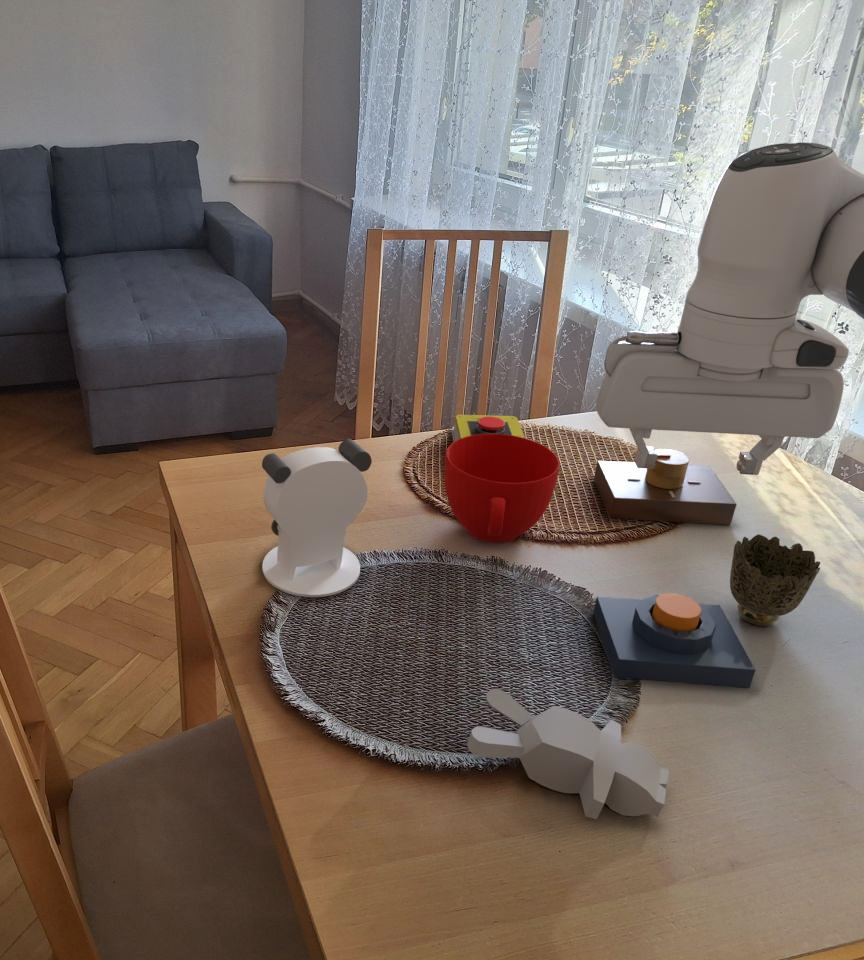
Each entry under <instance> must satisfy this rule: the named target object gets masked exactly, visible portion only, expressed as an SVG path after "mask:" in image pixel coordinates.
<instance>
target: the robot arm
mask: <svg viewBox="0 0 864 960" xmlns="http://www.w3.org/2000/svg"><path fill="white" fill-rule="evenodd" d="M715 187H716V188H715V190H714V192H713V194H712V197H711V201H710V204H709V207H708V210H707V213H706V216H705V220H704V224H703V227H702V230H701V234H700V238H699V242H698V246H697V271H696V275H695V277H694V280H693V281H692V283H691V284H690V286H689V288H688V290H687V292H686V295H685V299H684V305H683V307H682V312H681V316H680V320H679V324H678V328H677V332H673V331H672V332H671V331H669V332H668V331H667V332H665V331H658V332H644V331H638V330H635V331H634V330H633V331H632V330H631V331H627V333H626V334H625V335H621V336H618V337H616V338H615V339H614V340H612V341H611V342H610V343H609V344H608V347H607V348H606V353H605V358H604V363H603V367H604V370H605V373H604V376H603V378H602V381H601V384H600V387H599V391H598V393H597V398H596V401H595V409H596V412H597V415H598V416H599V419H600V420H601V421H602V422H603V424H605V426H607V427H608V428H614V429H629V432H630V433H631V436H632V438H633V440H634V443H635V445H636V448H637V449H636V452H635V457H634V462H635V464H636V466H637V468H646V469H654V468H655V463H654V462H655V461H657V456H658V454H657V452H656V451H655V450H656V449H655V447H654V446H648V445H646V442H645V440H644V439H647V440H648V439H650V438H651V435H652V431H653V430H654V431H674V432H691V433H709V434H726V435H727V434H728V435H729V434H730V435H749V436H759V438H760V439H759V441H757V443H756V444H755V445H754V446H753V447H752V448H751V449H750V450H749V451H739V454H738V460H737V461H736V470H737V471H738V472H739V474H740V475H750V476H758V475H759V474H760V471H761V468H762V465H763V462H764V461H766V460H767V459H768V458H769V457H770V456H772V455H773V454H775V452H776V451H777V450H778V449H780V448H781V447H782V444H783V441H784V438H802V439H803V438H804V439H820V438H821V437H823V436H825V435H826V434H827V433H828V432H830V431H831V430H832V429H833V427H834V426H835V423H836V420H837V416H838V415H839V414H838V413H839V410H840V407H841V403H842V397H843V394H844V393H843V392H844V387H845V384H844V377H843V374H842V373H841V371H840V370H839V369H840V368H842V367H843V366H844V365H845V363H846V361H847V360H848V357H849V353H850V350H849V348H848V347H847V345H846V344H844V342H842V341H841V340H840V339H839V338H838V337H836V335H834V334H832V332H830V331H828V330H827V329H825V328H823V327H822V326H820V325H818V324H817V323H814V322H811V321H808V320H805V319H802V318H799V317H797V315H798V311H799V308H800V305H801V302H802V301H803V300H804V298H806V297H808V296H812V295H813V296H822V295H823V296H824V297H825V298H826V299H829V300H831V301H833V302H835V303H837V304H839V305H840V306H842V307H844V308H846V309H848V310H850V311H851V312H853V313H855V314H856V315H857V316H859V317H860V318H861V319H862V320H864V173H863V172H862V173H861V172H859V171H858V170H856V169H854V168H853V167H852V166H850V165H848V164H847V163H845V162H844V161H843V160H842V159H840V158H839V156H838V155H837V154H836V152H835V149H833V148H832V147H830V146H828V145H825V144H821V143H817V142H815V143H814V142H800V141H799V142H791V143H789V142H783V143H782V142H781V143H774V144H769V145H768V144H767V145H764V146H760V147H755V148H753V149H750V150H747V151H746V152H744V153H742V154H740V155H738V156H737V157H735V158H733V160H732V161H731V162H730V163H729V164H728V165H727V166H726V168H725V169H724V171H723V173H722V175H721V177H720V178H719V181H718V182H717V185H716V186H715Z"/></svg>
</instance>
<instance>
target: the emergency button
mask: <svg viewBox="0 0 864 960" xmlns="http://www.w3.org/2000/svg"><path fill="white" fill-rule="evenodd" d="M478 434H505V435H513V436H517V437H522V438H526V437H525V434H524V431H523V429H522V426H521V424H520V421H519V419H518V417H517V416H515V415H492V414H489V415H488V414H457V415H455V420H454V425H453V426H452V428H451V436H452V440H453V442H455V441H456V440H458V439H461V438H463V437H467V436H471V435H478Z"/></svg>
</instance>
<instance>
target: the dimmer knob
mask: <svg viewBox="0 0 864 960" xmlns="http://www.w3.org/2000/svg"><path fill="white" fill-rule="evenodd" d="M655 451H656V452H657V454H658V456H657V461H655V462H654V463H655V468H654V469H647V471H646V475H645V479H646V481H647V482H648V483H649V484H651V485H653V486H656V487H659V488H663V489H677V488H680V487H681V486H682V485H683V483H684V479H685V475H686V471H687V467H688V465H689V463H690V458H689V456H688V455H686V454H685V453H683V452H681V451H679V450H675V449H670V448H657V449H655Z"/></svg>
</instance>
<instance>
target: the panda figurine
mask: <svg viewBox="0 0 864 960" xmlns="http://www.w3.org/2000/svg"><path fill="white" fill-rule="evenodd" d="M372 461H373V460H372V456H371V455H370V453H369V452H367V451H366V450H365V449H364V448H363V447H362V446H361V445H359V443H357V442H356V441H355V440H353V439H351V438H345V439H343V440H342V441H341V442H340V444H338V449H335V448H333V447H327V446H315V447H313V446H312V447H308V448H303V449H299V450H296V451H293V452H291V453H288V454H286V455H284V456H283V457H280V456H279V455H278V454H276V453H268V454H266V455H265V456H263V458H262V461H261V468H262V469H263V470H264V471H265V472H266V474H267V475H268V476H267V477H266V480H265V483H264V488H263V502H264V506H265V509H266V510H267V512H268V514H269V515H270V516H271V517H272V519H273V521H272V522H271V528H270V529H271V531H272V533H273V534H274V535H275V536H277V545H276V546H275V547H273V548H272V549H271V550H270V551H269V552H267V553H266V555H265V556H264V558H263V560H262V565H261V567H262V568H261V569H262V574H263V576H264V578H265V580H266V581H267V582H268V583H269V584H270V585H272V587H274V588H275V589H276V590H277V589H278V590H279V591H281V592H283V593H285V594H288V595H293V596H297V597H303V598H325V597H330V596H334V595H337V594H340V593H343V592H344V591H346V590H348V589H350V588H351V587H352V586H353V585H355V584H356V583H357V582H358V579H359V578H360V575H361V564H360V561H359V559H358V557H357V556H356V555H355V554H354V552H352V551H351V550H349V548H347V547H345V546H344V545H345V540H346V539H345V538H346V532H347V528H348V527H349V526H350V525H351V524H352V523H353V522H354V521H355V520H356V519H357V518H358V516H359V515H360V514H361V512H362V511H363V509H364V507H365V505H366V502H367V499H368V485H367V481H366V480H365V477H364V475H363V473H364V472H366V471H368V470H369V469H370V467H371V466H372Z"/></svg>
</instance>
